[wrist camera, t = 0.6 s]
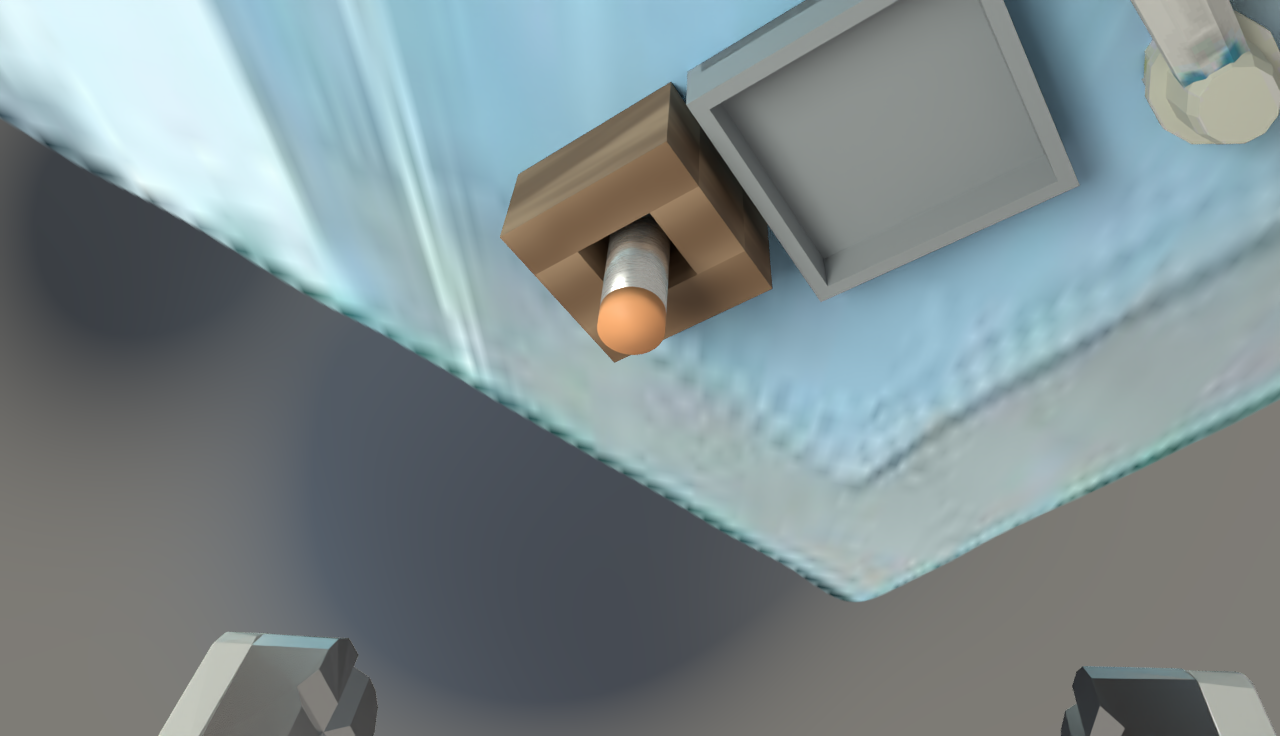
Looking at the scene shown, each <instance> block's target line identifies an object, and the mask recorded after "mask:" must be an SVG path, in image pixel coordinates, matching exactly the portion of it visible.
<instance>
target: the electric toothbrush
mask: <svg viewBox="0 0 1280 736" xmlns="http://www.w3.org/2000/svg"><path fill="white" fill-rule="evenodd" d="M1131 2H1132V4H1133V6H1134V7H1135V9H1136V11H1137V12H1138V14H1139V16H1140V18H1141V19H1142V21H1143V23H1144V25H1145V26H1146V28H1147V30H1148V32H1149V33H1150V35H1151V37H1152V41H1151V42H1150V44H1149V46H1148V47H1147V49H1146V50H1145V64H1144V78H1143V79H1142V81H1143V83H1144V85H1145V97H1146V99H1147V101H1148V103H1149V105H1150V107H1151V108H1152V110H1153V112H1154V114H1155V116H1156V118H1157V119H1158V121H1159V123H1160V125H1161V126H1162V127H1163V128H1164V129H1165V130H1167V131H1168V132H1170V133H1172V134H1174V135H1176V136H1178V137H1180V138H1181V139H1183V140H1185V141H1187V142H1189V143H1191V144H1242V143H1247V142H1249V141H1251V140H1253V139H1254V138H1256V137H1258V136H1260V135H1262V134H1264V133H1265V132H1266V131H1267V130H1268V128H1269V127H1270V126H1271V124H1272V123H1273V122H1274V120H1275V119H1276V118H1277V116H1278V114H1279V108H1280V51H1279V49H1278V47H1277V45H1276V42H1275V40H1274V38H1273V36H1272V34H1271V32H1270V31H1269V30H1268V29H1266V28H1265V27H1263V26H1262V25H1260V24H1258V23H1256V22H1255V21H1253V20H1251V19H1249V18H1248V17H1246V16H1244V15H1242V14H1241V13H1239V12H1237V11H1235V10H1233V9H1232V6H1231V4H1230V1H1229V0H1131Z"/></svg>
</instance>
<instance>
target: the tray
mask: <svg viewBox="0 0 1280 736" xmlns="http://www.w3.org/2000/svg"><path fill="white" fill-rule="evenodd" d="M686 105H687V107H688V108H689V110H690V111H691V113H692V114H693V116H694V117H695V118H696V120H697V121H698V123H699V124H700V126H701V127H702V129H703V130H704V132H705V133H706V135H707V136H708V137H709V139H710V140H711V142H712V143H713V145H714V146H715V148H716V149H717V151H718V152H719V154H720V155H721V156H722V158H723V159H724V161H725V162H726V164H727V165H728V167H729V168H730V170H731V171H732V173H733V174H734V176H735V177H736V178H737V180H738V181H739V183H740V184H741V186H742V187H743V189H744V190H745V192H746V193H747V195H748V196H749V197H750V199H751V200H752V202H753V203H754V205H755V206H756V208H757V209H758V211H759V212H760V214H761V215H762V217H763V218H764V219H765V221H766V222H767V224H768V225H769V227H770V228H771V230H772V231H773V233H774V234H775V236H776V237H777V238H778V240H779V241H780V243H781V244H782V246H783V247H784V249H785V250H786V252H787V253H788V255H789V256H790V258H791V259H792V260H793V262H794V263H795V265H796V266H797V268H798V269H799V271H800V272H801V274H802V275H803V277H804V278H805V279H806V281H807V282H808V284H809V285H810V287H811V288H812V290H813V291H814V293H815V294H816V296H817V297H818V299H819V300H820V301H821V302H822V301H824V300H827V299H829V298H831V297H833V296H835V295H838V294H840V293H842V292H844V291H847V290H849V289H851V288H853V287H855V286H858V285H860V284H862V283H864V282H866V281H869V280H871V279H873V278H875V277H878V276H880V275H882V274H884V273H886V272H889V271H891V270H893V269H895V268H898V267H900V266H902V265H904V264H906V263H909V262H911V261H913V260H915V259H918V258H920V257H922V256H924V255H926V254H929V253H931V252H933V251H935V250H938V249H940V248H942V247H944V246H946V245H949V244H951V243H953V242H955V241H957V240H960V239H962V238H964V237H966V236H969V235H971V234H973V233H975V232H977V231H980V230H982V229H984V228H986V227H989V226H991V225H993V224H995V223H997V222H1000V221H1002V220H1004V219H1006V218H1009V217H1011V216H1013V215H1015V214H1017V213H1020V212H1022V211H1024V210H1026V209H1029V208H1031V207H1033V206H1035V205H1037V204H1040V203H1042V202H1044V201H1046V200H1049V199H1051V198H1053V197H1055V196H1057V195H1060V194H1062V193H1064V192H1066V191H1068V190H1071V189H1073V188H1075V187H1077V186H1080V185H1079V183H1078V180H1077V178H1076V175H1075V173H1074V170H1073V168H1072V166H1071V163H1070V161H1069V158H1068V156H1067V153H1066V151H1065V149H1064V146H1063V144H1062V141H1061V139H1060V136H1059V134H1058V132H1057V129H1056V127H1055V124H1054V122H1053V119H1052V117H1051V115H1050V112H1049V110H1048V107H1047V105H1046V103H1045V100H1044V98H1043V95H1042V93H1041V90H1040V88H1039V86H1038V83H1037V81H1036V78H1035V76H1034V73H1033V71H1032V69H1031V66H1030V64H1029V61H1028V59H1027V56H1026V54H1025V52H1024V49H1023V47H1022V44H1021V42H1020V39H1019V37H1018V35H1017V32H1016V30H1015V27H1014V25H1013V22H1012V20H1011V18H1010V15H1009V13H1008V10H1007V8H1006V5H1005V3H1004V1H1003V0H805V1H803V2H802V3H800V4H799V5H797V6H795V7H794V8H792V9H790V10H789V11H787V12H785V13H784V14H782V15H780V16H779V17H777V18H775V19H774V20H772V21H771V22H769V23H767V24H766V25H764V26H762V27H761V28H759V29H757V30H756V31H754V32H752V33H751V34H749V35H747V36H746V37H744V38H742V39H741V40H739V41H738V42H736V43H734V44H733V45H731V46H729V47H728V48H726V49H724V50H723V51H721V52H719V53H718V54H716V55H714V56H713V57H711V58H710V59H708V60H706V61H705V62H703V63H701V64H700V65H698V66H696V67H695V68H693V69H691V70H690V71H688V74H687V96H686Z"/></svg>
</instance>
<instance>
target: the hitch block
mask: <svg viewBox="0 0 1280 736" xmlns="http://www.w3.org/2000/svg"><path fill="white" fill-rule="evenodd" d="M648 213H650V214H651V215H652V217H653V218H654V219H655V220H656V222H657V223H658V224H659V226H660V227H661V228H662V229H663V231H664V232H665V233H666V235H667V236H668V237H669V239H670V240H671V242H670V259H669V276H668V293H667V310H666V327H665V336H664V338H663V340H664V339H666V338H668V337H670V336H672V335H675V334H677V333H679V332H681V331H683V330H685V329H687V328H689V327H692V326H694V325H696V324H698V323H700V322H702V321H704V320H707V319H709V318H711V317H713V316H715V315H717V314H719V313H721V312H724V311H726V310H728V309H730V308H732V307H734V306H736V305H739V304H741V303H743V302H745V301H747V300H749V299H751V298H753V297H756V296H758V295H760V294H762V293H764V292H766V291H768V290H771V289H772V279H771V266H770V253H769V240H768V227H767V222H766V221H765V219H764V218H763V217H762V215H761V214H760V212H759V211H758V209H757V208H756V206H755V205H754V203H753V202H752V200H751V199H750V197H749V196H748V195H747V193H746V192H745V190H744V189H743V187H742V186H741V184H740V183H739V181H738V180H737V178H736V177H735V176H734V174H733V173H732V171H731V170H730V168H729V167H728V165H727V164H726V162H725V161H724V159H723V158H722V156H721V155H720V154H719V152H718V151H717V149H716V148H715V146H714V145H713V143H712V142H711V140H710V139H709V137H708V136H707V135H706V133H705V132H704V130H703V129H702V127H701V126H700V124H699V123H698V121H697V120H696V118H695V117H694V116H693V114H692V113H691V111H690V110H689V108H688V107H687V105H686V103H685V102H684V101H683V99H682V98H681V96H680V95H679V93H678V92H677V90H676V89H675V87H674V86H673V84H672V83H671V82H670V83H668V84H667V85H665V86H663V87H662V88H660V89H658V90H657V91H655V92H653V93H652V94H650V95H649V96H647V97H645V98H644V99H642V100H640V101H639V102H637V103H635V104H634V105H632V106H630V107H629V108H627V109H625V110H624V111H622V112H621V113H619V114H617V115H616V116H614V117H612V118H611V119H609V120H607V121H606V122H604V123H602V124H601V125H599V126H597V127H596V128H594V129H592V130H591V131H589V132H588V133H586V134H584V135H583V136H581V137H579V138H578V139H576V140H574V141H573V142H571V143H569V144H568V145H566V146H564V147H563V148H561V149H560V150H558V151H556V152H555V153H553V154H551V155H550V156H548V157H546V158H545V159H543V160H541V161H540V162H538V163H536V164H535V165H533V166H531V167H530V168H528V169H527V170H525V171H523V172H522V173H520V174H518V177H517V181H516V184H515V188H514V191H513V194H512V198H511V201H510V205H509V208H508V211H507V215H506V218H505V222H504V225H503V228H502V232H501V235H500V238H501V239H502V240H503V241H504V242H505V243H506V244H507V246H508V247H509V248H510V249H511V250H512V251H513V252H514V253H515V254H516V255H517V256H518V258H519V259H520V260H521V261H522V262H523V263H524V264H525V265H526V266H527V267H528V269H529V270H530V271H531V272H532V273H533V274H534V275H535V276H536V277H537V278H538V279H539V281H540V282H541V283H542V284H543V285H544V286H545V287H546V288H547V289H548V290H549V291H550V293H551V294H552V295H553V296H554V297H555V298H556V299H557V300H558V301H559V302H560V304H561V305H562V306H563V307H564V308H565V309H566V310H567V311H568V312H569V313H570V314H571V316H572V317H573V318H574V319H575V320H576V321H577V322H578V323H579V324H580V325H581V327H582V328H583V329H584V330H585V331H586V332H587V333H588V334H589V335H590V336H591V337H592V339H593V340H594V341H595V342H596V343H597V344H598V345H599V346H600V347H601V348H602V349H603V351H604V352H605V353H606V354H607V355H608V356H609V357H610V358H611V359H612V360H613V362H614V363H615V362H617V361H619V360H621V359H623V358H625V357H628V356H630V355H628V354H623V353H619V352H616V351H614V350H612V349H611V348H609V347H608V346H606V345H605V344H604V343H603V341H602V340H601V339H600V337H599V335H598V331H597V323H598V316H599V309H600V302H601V295H602V288H603V281H604V274H605V267H606V260H607V253H608V246H609V239H610V234H612V233H613V232H615V231H617V230H619V229H621V228H623V227H625V226H626V225H628V224H630V223H632V222H634V221H636V220H637V219H639V218H641V217H643V216H645V215H647V214H648Z"/></svg>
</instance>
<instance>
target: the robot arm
mask: <svg viewBox="0 0 1280 736" xmlns="http://www.w3.org/2000/svg"><path fill="white" fill-rule="evenodd" d="M357 657H358V653H357V651H356V649H355V648H354V646H353V644H352V642H351V641H350V639H349V638H335V637H317V636H296V635H278V634H268V633H243V632H226V633H225V634H224V635H222V636H221V637H220V638H219V639H218V640H216V641H215V642H214V643H213V644H212V646H211V648H210V649H209V651H208V653H207V654H206V656H205V658H204V659H203V661H202V663H201V664H200V666H199V668H198V670H197V671H196V673H195V674H194V676H193V678H192V679H191V681H190V683H189V685H188V686H187V688H186V690H185V691H184V693H183V695H182V696H181V698H180V700H179V701H178V703H177V705H176V707H175V708H174V710H173V712H172V714H171V715H170V717H169V718H168V720H167V722H166V723H165V725H164V727H163V729H162V730H161V732H160V734H159V735H158V736H373V735H374V732H375V725H376V717H377V710H378V705H377V698H376V691H375V688H374V686H373V684H372V682H371V679H370V678H369V677H368V676H367V675H365V674H364V673H362V672H361V671H359V670H358V669H356V668H355V667H354V665H355V662H356V660H357ZM1072 688H1073V691H1074V695H1075V699H1076V703H1077V704H1075V705H1074V706H1072V707H1070V708H1069V709H1067V710H1066V711H1065V714H1064V718H1063V722H1062V727H1061V736H1277V734H1276V732H1275V730H1274V728H1273V725H1272V723H1271V721H1270V719H1269V717H1268V715H1267V712H1266V710H1265V708H1264V706H1263V704H1262V702H1261V699H1260V697H1259V695H1258V693H1257V691H1256V689H1255V686H1254V684H1253V683H1252V682H1251V681H1250V680H1249V679H1248V678H1247V677H1246V676H1245V675H1244V674H1242V673H1239V672H1229V671H1186V670H1183V669H1172V668H1171V669H1170V668H1130V667H1127V668H1126V667H1088V666H1085V667H1084V666H1082V667H1081V668H1080V669H1079V670H1078V671H1077V672H1076V675H1075V678H1074V681H1073V685H1072Z"/></svg>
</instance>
